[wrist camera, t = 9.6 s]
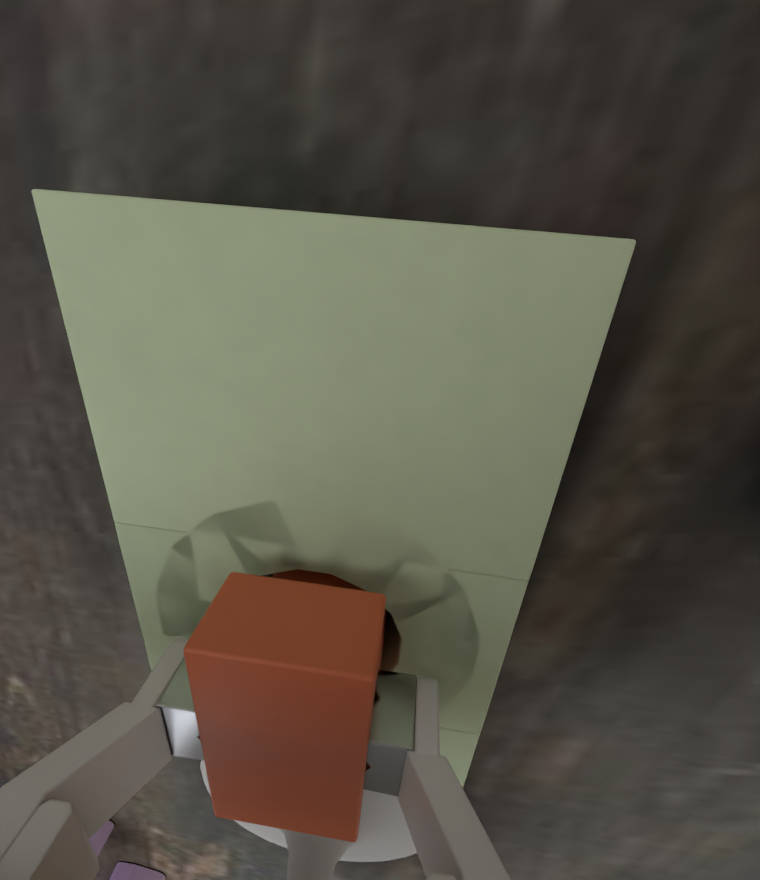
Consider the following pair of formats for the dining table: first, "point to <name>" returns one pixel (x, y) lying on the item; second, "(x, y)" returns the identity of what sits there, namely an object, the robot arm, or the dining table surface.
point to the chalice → (319, 855)
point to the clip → (125, 875)
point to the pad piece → (287, 698)
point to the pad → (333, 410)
